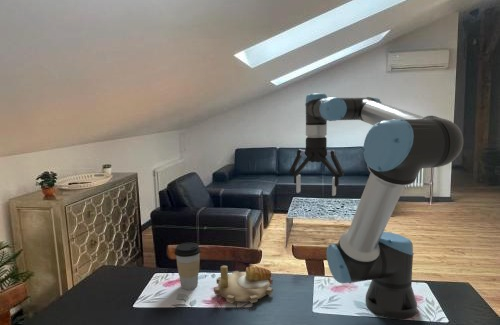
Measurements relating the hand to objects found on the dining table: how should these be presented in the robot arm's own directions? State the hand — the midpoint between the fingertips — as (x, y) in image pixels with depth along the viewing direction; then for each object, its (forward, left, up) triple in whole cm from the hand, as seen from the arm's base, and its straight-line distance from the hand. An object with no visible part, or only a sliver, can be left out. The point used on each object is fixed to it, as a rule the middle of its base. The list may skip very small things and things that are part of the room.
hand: (315, 193), depth 130 cm
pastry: (+17, +18, -29) cm, 38 cm away
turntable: (+19, +23, -31) cm, 43 cm away
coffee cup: (+39, +28, -32) cm, 58 cm away
